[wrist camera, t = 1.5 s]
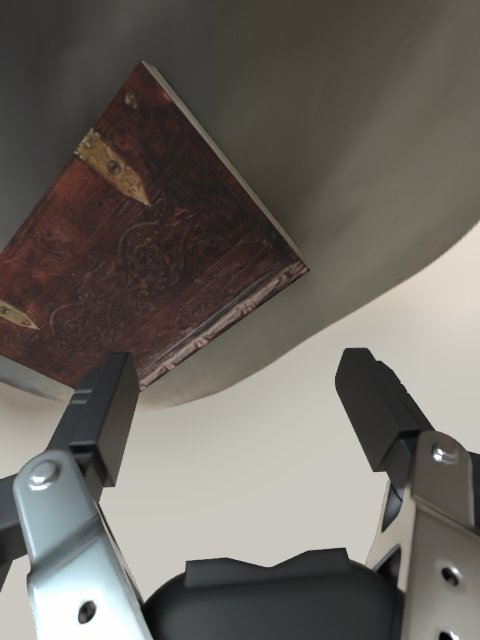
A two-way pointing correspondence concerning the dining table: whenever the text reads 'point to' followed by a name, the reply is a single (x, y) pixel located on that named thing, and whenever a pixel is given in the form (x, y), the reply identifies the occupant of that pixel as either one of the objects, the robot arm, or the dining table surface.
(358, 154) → the dining table surface
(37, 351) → the hardback book
